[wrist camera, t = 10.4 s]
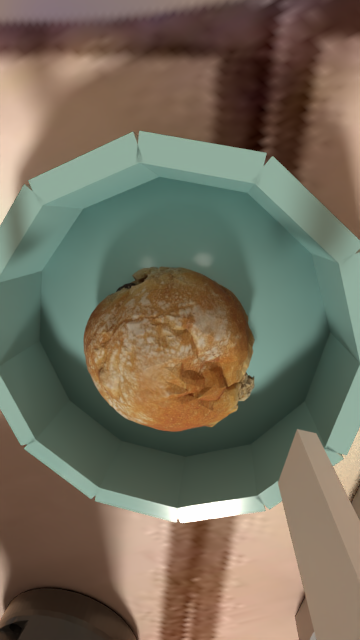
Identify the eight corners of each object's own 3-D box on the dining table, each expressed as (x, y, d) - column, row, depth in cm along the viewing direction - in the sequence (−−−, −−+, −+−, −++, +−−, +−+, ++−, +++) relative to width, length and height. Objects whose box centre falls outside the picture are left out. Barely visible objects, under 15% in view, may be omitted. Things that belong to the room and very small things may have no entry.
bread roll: (210, 249, 22) (160, 203, 14) (296, 376, 19) (289, 399, 12) (111, 326, 25) (27, 321, 17) (173, 445, 22) (106, 499, 15)
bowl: (285, 489, 24) (301, 556, 19) (27, 424, 25) (-19, 471, 20) (398, 197, 17) (467, 187, 12) (32, 131, 18) (-35, 100, 13)
